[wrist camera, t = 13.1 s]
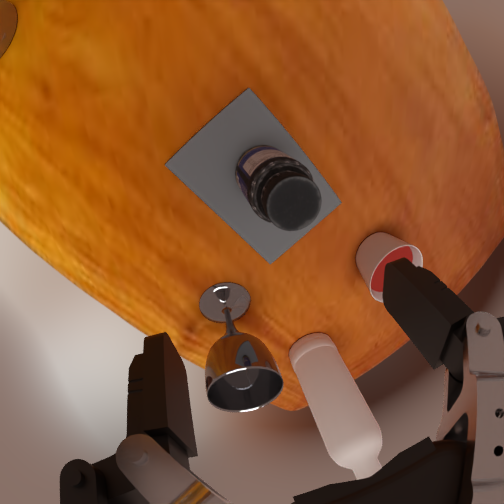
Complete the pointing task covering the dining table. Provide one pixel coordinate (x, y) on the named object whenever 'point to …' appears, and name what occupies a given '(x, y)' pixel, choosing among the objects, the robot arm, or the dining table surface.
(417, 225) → the dining table surface
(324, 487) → the robot arm
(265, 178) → the pill bottle
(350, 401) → the bottle
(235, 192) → the place mat
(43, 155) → the dining table surface
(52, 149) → the dining table surface
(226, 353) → the wine glass
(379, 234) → the candle
